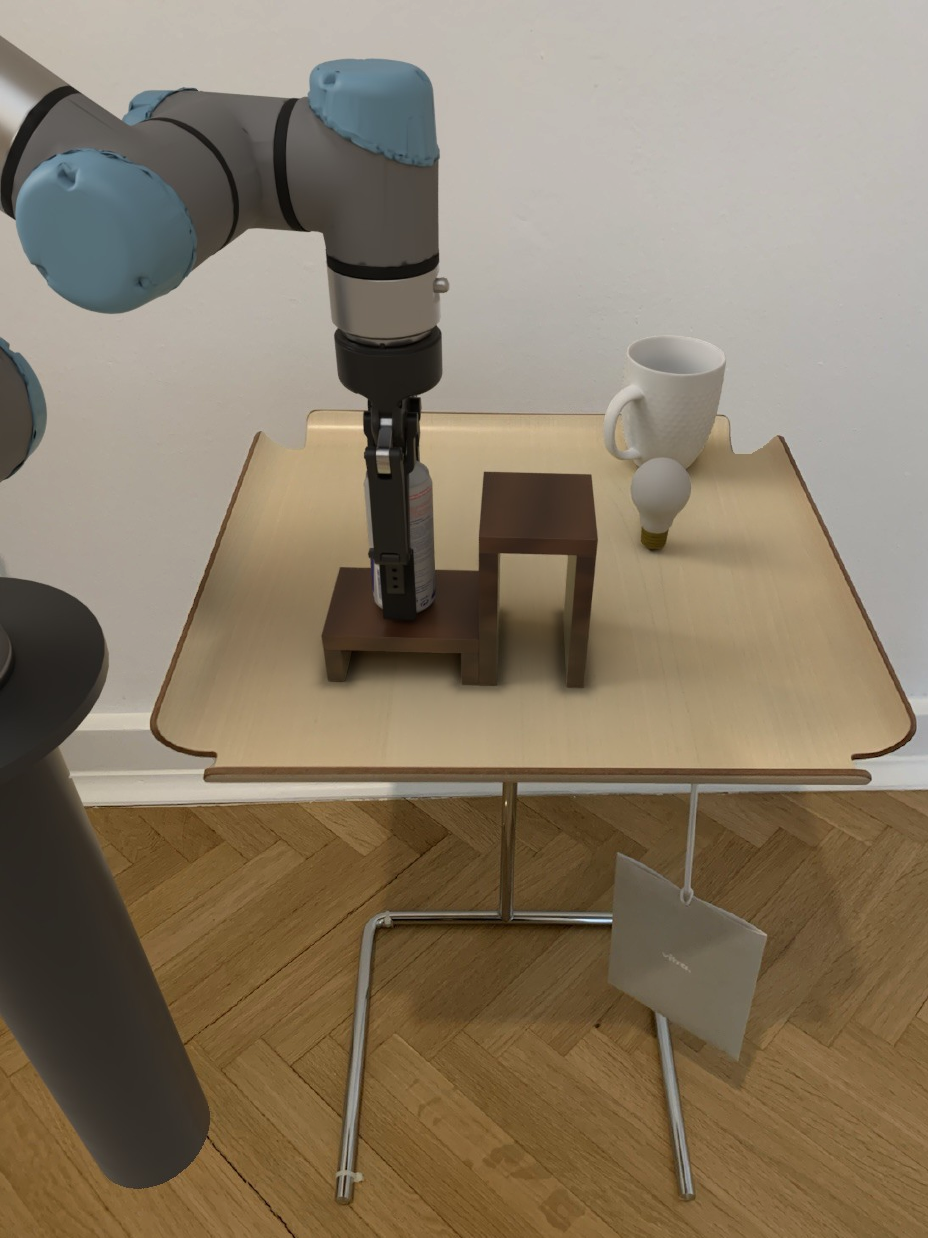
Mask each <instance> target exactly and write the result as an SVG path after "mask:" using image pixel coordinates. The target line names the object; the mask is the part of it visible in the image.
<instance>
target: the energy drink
mask: <svg viewBox="0 0 928 1238" xmlns="http://www.w3.org/2000/svg"><path fill="white" fill-rule="evenodd" d="M433 487H434V486H433V479H432V477H431V474H430V470H429V468H428V467H427V466H426V465H425V463H423V462H421V461H420V462H419V461H416V464H415V467H414V470H413V471H412V472H411V473H409V501H410V547H411V548H412V550H413V551H414V571H415V591H416V611H417V613H418V612H420V611H422V610H424V609H426V608H427V607H428V606H429V605H431V603H432V602H433V601H434V599H435V596H436V583H435V570H436V557H435V556H436V555H435V523H434V520H435V519H434V491H433ZM363 492H364V503H365V516H366V527H367V540H368V548H369V549H368V551H369V550H370V548H374V547H373V534H372V521H371V508H370V495H369V482H368V474H367V470H366V471H365V478H364V480H363ZM369 562H370V568H371V576H372V588H373V598H374V601H375V603H376V604H377V605H378V606H379V607H381V608H382V595H381V582H380V570H379V564H375V563H374V560H373V558H369ZM382 609H383V608H382Z"/></svg>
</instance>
